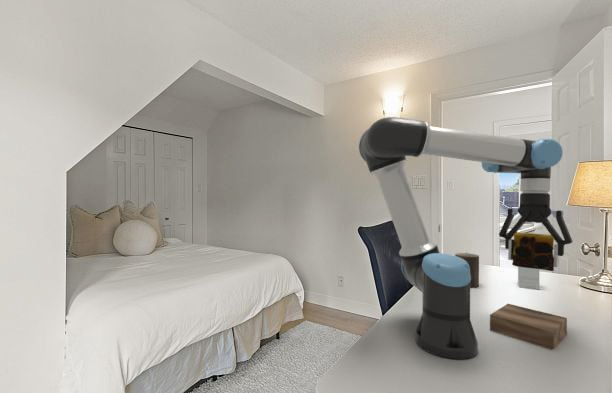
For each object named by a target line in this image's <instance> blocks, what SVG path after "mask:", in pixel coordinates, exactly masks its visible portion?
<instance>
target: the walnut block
mask: <svg viewBox="0 0 612 393" xmlns="http://www.w3.org/2000/svg"><path fill="white" fill-rule="evenodd" d="M567 324H568V317H564V316H560V315H557V314H552V313H548V312H543V311H540V310H536V309H532V308H528V307H524V306H520V305H516V304H512V303H506V304H505V305H504V306H502V307H500V308H498V309H496V310H495V311H493V312H492V313H490V314H489V331H492V332H495V333H498V334H502V335H504V336H507V337H511V338H514V339H517V340H520V341H524V342H525V343H526V342H527V343H529V342H530V344H534V345H535V346H536V345H537V346H539V345H540V346H539V347H542V346H543V348H545V347H546V348H547V349H549V348H550V349H549V350H552V349H554V348H555V349H556V347H557V346H558V345H559V344H560V343H561V342H562V340H563V339H564V338H565V336H566V335H567V333H568V330H567V329H568V325H567ZM555 349H554V350H555Z"/></svg>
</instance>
